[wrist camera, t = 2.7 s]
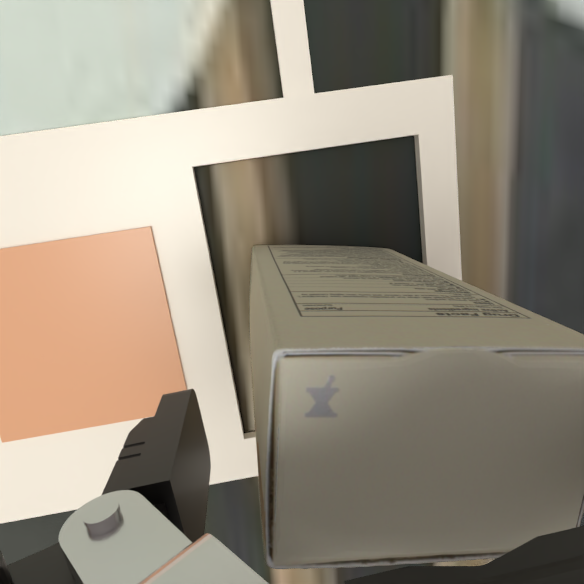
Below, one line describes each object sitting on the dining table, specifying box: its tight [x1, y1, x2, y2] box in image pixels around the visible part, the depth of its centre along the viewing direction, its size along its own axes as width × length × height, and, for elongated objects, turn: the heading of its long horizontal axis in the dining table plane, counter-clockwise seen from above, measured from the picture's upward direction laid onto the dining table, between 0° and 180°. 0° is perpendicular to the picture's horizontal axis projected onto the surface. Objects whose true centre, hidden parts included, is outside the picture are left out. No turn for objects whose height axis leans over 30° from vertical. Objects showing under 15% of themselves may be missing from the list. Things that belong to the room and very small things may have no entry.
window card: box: [0, 0, 462, 523], centre depth 18 cm, size 22×20×1 cm
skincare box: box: [249, 245, 584, 569], centre depth 14 cm, size 6×4×12 cm
